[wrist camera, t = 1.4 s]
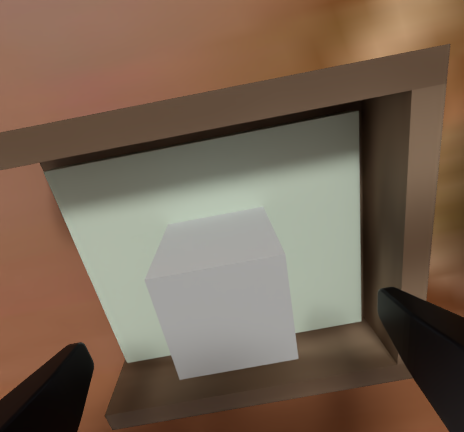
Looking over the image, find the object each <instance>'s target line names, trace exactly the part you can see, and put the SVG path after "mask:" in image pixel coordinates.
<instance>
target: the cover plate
mask: <svg viewBox="0 0 464 432" xmlns="http://www.w3.org/2000/svg"><path fill="white" fill-rule="evenodd" d="M44 174H45V177H46V179H47V181H48V183H49V186H50V188H51V190H52V193H53V195H54V197H55V199H56V202H57V204H58V206H59V209H60V211H61V213H62V215H63V218H64V220H65V222H66V225H67V227H68V229H69V231H70V234H71V236H72V238H73V240H74V243H75V245H76V247H77V250H78V252H79V254H80V256H81V259H82V261H83V263H84V266H85V268H86V270H87V272H88V275H89V277H90V279H91V282H92V284H93V286H94V288H95V291H96V293H97V295H98V297H99V300H100V302H101V304H102V307H103V309H104V311H105V313H106V316H107V318H108V320H109V323H110V325H111V327H112V329H113V332H114V334H115V336H116V339H117V341H118V343H119V345H120V348H121V350H122V352H123V354H124V357H125V359H126V361H127V363H131V362H136V361H142V360H147V359H153V358H159V357H164V356H170V355H171V357H172V359H173V362H174V365H175V368H176V371H177V373H178V376H179V379H180V380H182V379H187V378H193V377H199V376H204V375H210V374H216V373H221V372H227V371H233V370H239V369H244V368H250V367H256V366H261V365H267V364H273V363H278V362H284V361H290V360H295V359H299V358H298V350H297V343H296V335H295V333H299V332H305V331H310V330H316V329H321V328H327V327H333V326H338V325H344V324H350V323H355V322H361V244H360V163H359V111H345V112H340V113H335V114H330V115H325V116H320V117H314V118H309V119H304V120H299V121H294V122H289V123H283V124H278V125H273V126H268V127H263V128H258V129H252V130H247V131H242V132H237V133H232V134H227V135H222V136H216V137H211V138H206V139H201V140H196V141H191V142H185V143H180V144H175V145H170V146H165V147H160V148H154V149H149V150H144V151H139V152H134V153H129V154H124V155H118V156H113V157H108V158H103V159H98V160H93V161H87V162H82V163H77V164H72V165H67V166H62V167H56V168H53V169H50V170H48V171H45V172H44Z"/></svg>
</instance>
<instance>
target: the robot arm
mask: <svg viewBox="0 0 464 432" xmlns="http://www.w3.org/2000/svg"><path fill="white" fill-rule="evenodd" d="M377 311H378V316H379V318H380V320H381V322H382V324H383V326H384V328H385V330H386V331H387V333H388V335H389V337H390V339H391V341H392V342H393V344H394V346H395V348H396V350H397V352H398V353H399V355H400V357H401V359H402V361H403V363H404V364H405V366H406V368H407V369H408V371H409V372H410V374H411V376H412V377H413V379H414V380H415V382H416V383H417V384H418V386H419V387H420V389H421V390H422V392H423V393H424V395H425V396H426V398H427V399H428V401H429V402H430V404H431V405H432V407H433V408H434V410H435V411H436V413H437V414H438V415H439V417H440V418H441V420H442V421H443V423H444V424H445V426H446V427H447V429H448V430H449V432H464V317H461V316H459V315H457V314H455V313H452V312H450V311H448V310H445V309H443V308H441V307H439V306H436V305H434V304H432V303H430V302H427V301H425V300H423V299H421V298H418V297H416V296H414V295H411V294H409V293H407V292H405V291H402V290H400V289H398V288H396V287H386V288H381V289H379V290H378V302H377ZM93 370H94V363H93V360H92V358H91V356H90V354H89V352H88V350H87V348H86V346H85V344H84V343H81V342H79V343H74V344H69V345H67V346H66V347H65V348H63V349H62V350H61V351H60V352H58V353H57V354H56V355H55V356H54V357H52V358H51V359H50V360H49V361H47V362H46V363H45V364H44V365H43V366H41V367H40V368H39V369H38V370H36V371H35V372H34V373H33V374H32V375H30V376H29V377H28V378H27V379H25V380H24V381H23V382H22V383H20V384H19V385H18V386H17V387H16V388H14V389H13V390H12V391H11V392H9V393H8V394H7V395H6V396H5V397H3V398H2V399H1V400H0V432H77V431H78V427H79V424H80V421H81V417H82V414H83V410H84V406H85V402H86V398H87V394H88V390H89V386H90V382H91V378H92V374H93Z"/></svg>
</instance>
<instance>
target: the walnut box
mask: <svg viewBox="0 0 464 432" xmlns="http://www.w3.org/2000/svg"><path fill="white" fill-rule="evenodd" d="M449 52H450V44H447V45H442V46H437V47H432V48H427V49H421V50H416V51H411V52H406V53H401V54H396V55H391V56H386V57H381V58H376V59H371V60H366V61H361V62H356V63H351V64H345V65H340V66H335V67H330V68H325V69H320V70H315V71H310V72H305V73H300V74H295V75H290V76H285V77H280V78H275V79H269V80H264V81H259V82H254V83H249V84H244V85H239V86H234V87H229V88H224V89H219V90H214V91H209V92H204V93H199V94H193V95H188V96H183V97H178V98H173V99H168V100H163V101H158V102H153V103H148V104H143V105H138V106H133V107H128V108H123V109H117V110H112V111H107V112H102V113H97V114H92V115H87V116H82V117H77V118H72V119H67V120H62V121H57V122H52V123H47V124H41V125H36V126H31V127H26V128H21V129H16V130H11V131H6V132H1V133H0V170H4V169H9V168H14V167H20V166H25V165H30V164H35V163H40V164H41V167H42V169H43V171H44V172H45V171H48V170H50V169H53V168H56V167H62V166H67V165H72V164H77V163H82V162H87V161H93V160H98V159H103V158H108V157H113V156H118V155H124V154H129V153H134V152H139V151H144V150H149V149H154V148H160V147H165V146H170V145H175V144H180V143H185V142H191V141H196V140H201V139H206V138H211V137H216V136H222V135H227V134H232V133H237V132H242V131H247V130H252V129H258V128H263V127H268V126H273V125H278V124H283V123H289V122H294V121H299V120H304V119H309V118H314V117H320V116H325V115H330V114H335V113H340V112H345V111H359V163H360V244H361V322H355V323H350V324H344V325H338V326H333V327H327V328H321V329H316V330H310V331H305V332H299V333H295V335H296V343H297V350H298V358H299V359H295V360H290V361H284V362H278V363H273V364H267V365H261V366H256V367H250V368H244V369H239V370H233V371H227V372H221V373H216V374H210V375H204V376H199V377H193V378H187V379H182V380H180V379H179V376H178V373H177V371H176V368H175V365H174V362H173V359H172V357H171V355H170V356H164V357H159V358H153V359H147V360H142V361H136V362H131V363H127V361H126V359H125V362H124V365H123V367H122V370H121V373H120V376H119V378H118V381H117V384H116V386H115V389H114V392H113V395H112V397H111V400H110V403H109V406H108V408H107V411H106V414H105V417H106V419H107V421H108V423H109V425H110V426H111V428H112V430H116V429H121V428H127V427H133V426H139V425H145V424H150V423H156V422H162V421H168V420H173V419H179V418H185V417H191V416H197V415H202V414H208V413H214V412H220V411H225V410H231V409H237V408H243V407H248V406H254V405H260V404H266V403H272V402H277V401H283V400H289V399H295V398H300V397H306V396H312V395H318V394H323V393H329V392H335V391H341V390H347V389H352V388H358V387H364V386H370V385H375V384H381V383H387V382H393V381H399V380H404V379H410V378H413V377H412V376H411V374H410V372H409V371H408V369H407V368H406V366H405V364H404V363H403V361H402V359H401V357H400V355H399V353H398V352H397V350H396V348H395V346H394V344H393V342H392V341H391V339H390V337H389V335H388V333H387V331H386V330H385V328H384V326H383V324H382V322H381V320H380V318H379V316H378V311H377V302H378V290H379V289H381V288H386V287H396V288H398V289H400V290H402V291H405V292H407V293H409V294H411V295H414V296H416V297H418V298H421V299H423V300H425V301H426V298H427V287H428V276H429V266H430V255H431V244H432V234H433V223H434V212H435V202H436V191H437V180H438V170H439V159H440V148H441V138H442V127H443V116H444V106H445V95H446V84H447V74H448V63H449Z"/></svg>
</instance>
